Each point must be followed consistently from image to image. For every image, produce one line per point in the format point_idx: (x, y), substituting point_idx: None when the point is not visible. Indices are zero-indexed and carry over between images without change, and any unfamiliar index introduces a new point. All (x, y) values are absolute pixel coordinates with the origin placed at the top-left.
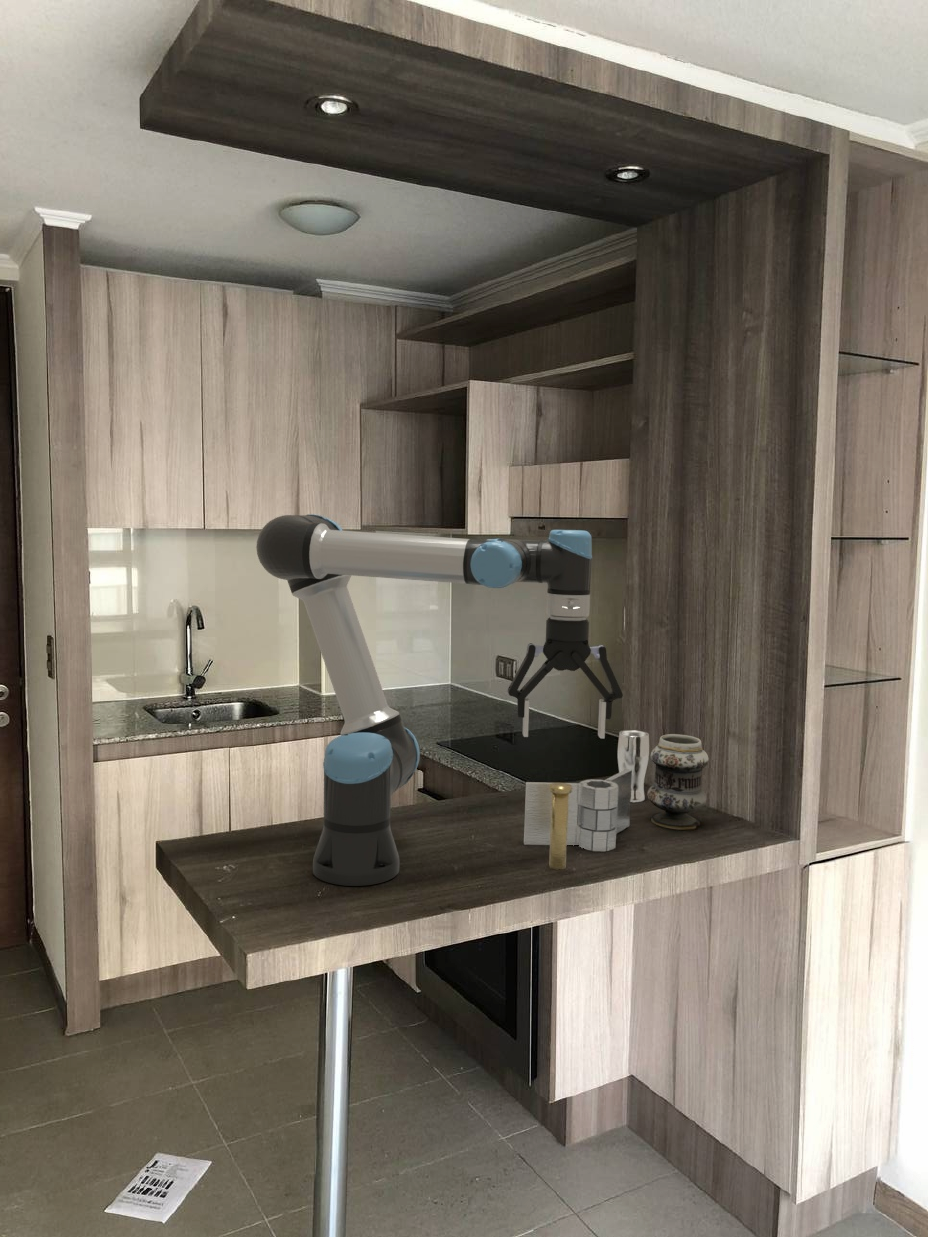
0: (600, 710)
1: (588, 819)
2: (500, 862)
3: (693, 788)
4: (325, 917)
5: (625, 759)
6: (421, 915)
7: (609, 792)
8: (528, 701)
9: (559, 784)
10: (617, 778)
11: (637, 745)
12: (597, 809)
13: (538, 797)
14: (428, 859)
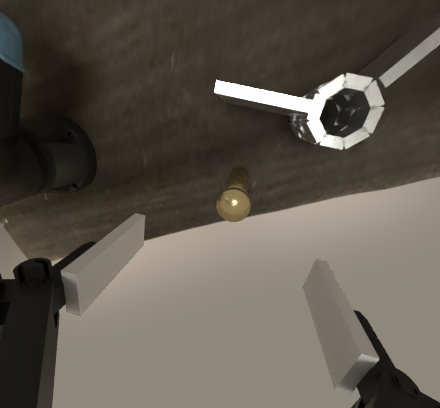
0: (330, 340)
1: (301, 133)
2: (188, 154)
3: None
4: (58, 233)
5: None
6: None
7: (343, 147)
8: (79, 313)
9: (233, 200)
10: (417, 61)
11: None
12: None
13: (236, 99)
14: (121, 134)
